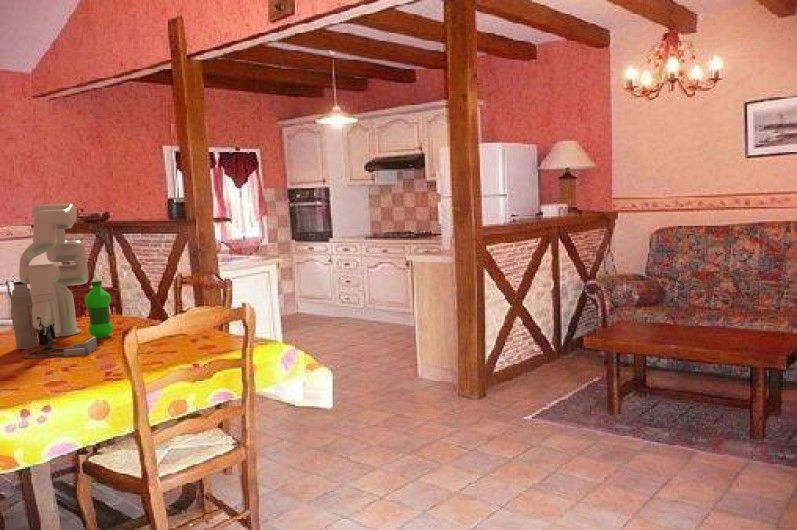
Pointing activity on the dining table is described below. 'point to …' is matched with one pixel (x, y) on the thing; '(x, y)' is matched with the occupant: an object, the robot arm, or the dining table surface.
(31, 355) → the channel
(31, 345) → the thermos bottle
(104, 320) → the plastic bottle
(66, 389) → the dining table surface
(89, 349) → the socket
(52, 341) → the dark grey chess piece
